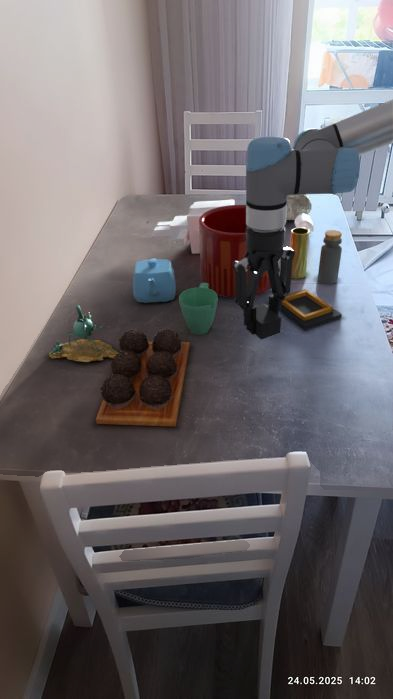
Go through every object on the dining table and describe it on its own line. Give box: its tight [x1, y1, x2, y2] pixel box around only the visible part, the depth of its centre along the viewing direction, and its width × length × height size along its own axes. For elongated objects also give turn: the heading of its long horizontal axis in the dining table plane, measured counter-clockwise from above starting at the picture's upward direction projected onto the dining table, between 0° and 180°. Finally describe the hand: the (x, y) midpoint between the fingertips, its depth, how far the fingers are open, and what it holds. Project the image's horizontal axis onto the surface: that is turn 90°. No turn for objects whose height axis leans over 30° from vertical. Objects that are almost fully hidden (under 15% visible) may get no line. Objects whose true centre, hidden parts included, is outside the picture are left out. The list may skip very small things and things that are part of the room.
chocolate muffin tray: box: [95, 328, 191, 428], centre depth 108 cm, size 28×17×8 cm, turn 175°
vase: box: [289, 227, 310, 280], centre depth 146 cm, size 6×6×14 cm
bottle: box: [317, 229, 343, 285], centre depth 142 cm, size 6×6×15 cm
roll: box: [293, 214, 315, 236], centre depth 174 cm, size 6×12×6 cm, turn 178°
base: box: [279, 288, 343, 331], centre depth 132 cm, size 16×12×2 cm
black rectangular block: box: [243, 303, 282, 341], centre depth 104 cm, size 7×5×4 cm
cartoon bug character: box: [48, 305, 120, 363], centre depth 117 cm, size 10×18×15 cm, turn 80°
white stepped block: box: [153, 199, 235, 255], centre depth 167 cm, size 15×25×28 cm
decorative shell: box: [286, 194, 313, 221], centre depth 186 cm, size 18×18×10 cm
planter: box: [199, 204, 271, 299], centre depth 142 cm, size 23×23×20 cm
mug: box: [178, 282, 219, 336], centre depth 126 cm, size 15×10×10 cm
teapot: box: [132, 257, 177, 304], centre depth 138 cm, size 12×18×12 cm
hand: (261, 327), depth 105 cm, fingers closed on black rectangular block, 5 cm apart
